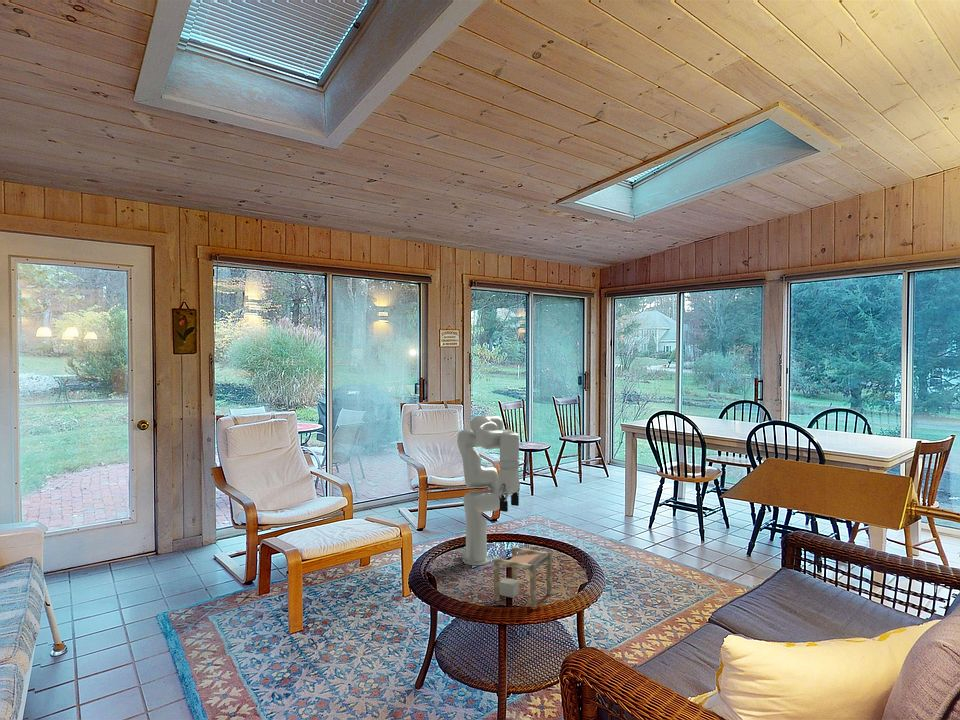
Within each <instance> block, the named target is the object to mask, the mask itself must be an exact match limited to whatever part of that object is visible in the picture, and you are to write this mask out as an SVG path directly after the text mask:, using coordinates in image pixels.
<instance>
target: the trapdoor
mask: <svg viewBox="0 0 960 720" xmlns="http://www.w3.org/2000/svg"><path fill="white" fill-rule="evenodd" d="M543 556H544V554H543V553H540V554H531V555H530V554H517V555H516V556H514V557H513V558H512V557H511V558H510V559H509V560H510V561H515V562H521V563H526V564H531V565H532V564H534V563H535V562H536V561H538V560H539V559H540V558H542V557H543ZM501 566H502V568H512V567H513V566H508V565H503V564H501Z"/></svg>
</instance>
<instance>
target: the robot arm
mask: <svg viewBox="0 0 960 720" xmlns="http://www.w3.org/2000/svg"><path fill="white" fill-rule="evenodd" d="M469 426H470V428H465V429H462V430H460V431H459V432H458V434H457V441H456V442H457V447H458V450H459V453H460V455H461V459H462V466H463V468H462V469H463V477H464V483H465V486H466V487H467V488H470V489H478V488H479V489H480V488H487V489H485V490H481V489H480V490H472V491H468V492H466V493H465V494H464V497H463V507H464V513H465V516H464V517H465V548H460V549H459V553H458V554H459V555H462V556H463V557H462V563H463V562H464V564H465V565H468V566H475V567H476V566H479V567H480V566H483V565H484V566H485V565H488V564H489V563H490V562H491V557H490V556H489V555H487V554H488V551H487V550H488V548H487V545H488V544H487V543H488V542H487V541H488V539H487V535H488V534H487V532H488V531H487V530H488V529H487V520H486V518H485V517H484V516H483V514H482V513H485V512H495V511H498V510H499V512H505V513H506V512H508V511H509V505H508V504H509V503H508V502H509V501H508V497H509V496H510V505H511V506H516V507H519V506H520V504H519V503H520V501H519V500H520V499H519V498H520V496H519V495H520V492H519V491H520V487H521V482H520V475H519V468H520V435H519V433H518V432H515V431H513V430H511V429H504V422H503V419H502V418H501V417H500V416H498V415H497V414H496V415H495V414H493V415H489V414H488V415H477V416H475V417H473V418H472V419H471V421H470V423H469ZM478 447H481V448H483V449H485V450H496V449H499V471H498V470H497V468H496V467H495V466H492V465H486V466H483V465H482V459H481V455H480V454H479V452H478V451H477V450H476V449H475V448H478ZM498 472H499V473H498Z"/></svg>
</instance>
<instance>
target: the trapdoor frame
mask: <svg viewBox="0 0 960 720" xmlns="http://www.w3.org/2000/svg"><path fill="white" fill-rule="evenodd" d="M518 553H519V554H523V555H531V554H540V553H543V554H544V556H543V557H542V558H540V559H539V560H538V561H536V562H535V563H534V564H532V565H531V564H526V563H521V562H515V561H510V559H503V558H498V557H494V558H493V601H494V602H498V603H499V601H500V599H501V598H500V597H501V595H500V581H501V580H500V565H502V564H503V565H508V566H513V567H511V579H514V580H518V568H520V569H524V570H529V579H530V580H529V584H530V585H529V587H530V590H529V593H530V596H529V598H530V600H529V601H530V607H536V608H537V568H539V567H540V566H542V565H543V564H544V563H546V595H549V596H552V594H553V555H552V552H546V551H541V550H534V549H529V548H523V547H517V546H512V547H511V558H513V557H514V556H516V555H518ZM530 607H529V608H530Z"/></svg>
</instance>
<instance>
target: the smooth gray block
mask: <svg viewBox="0 0 960 720" xmlns="http://www.w3.org/2000/svg"><path fill="white" fill-rule="evenodd" d="M499 581H500V596H503V597H507V598H512V599H514V598H516V596H518V595H519V594H520V580H519V579H517V580H514V579H512V578H509V577H504V578H503V579H501V580H499Z"/></svg>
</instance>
